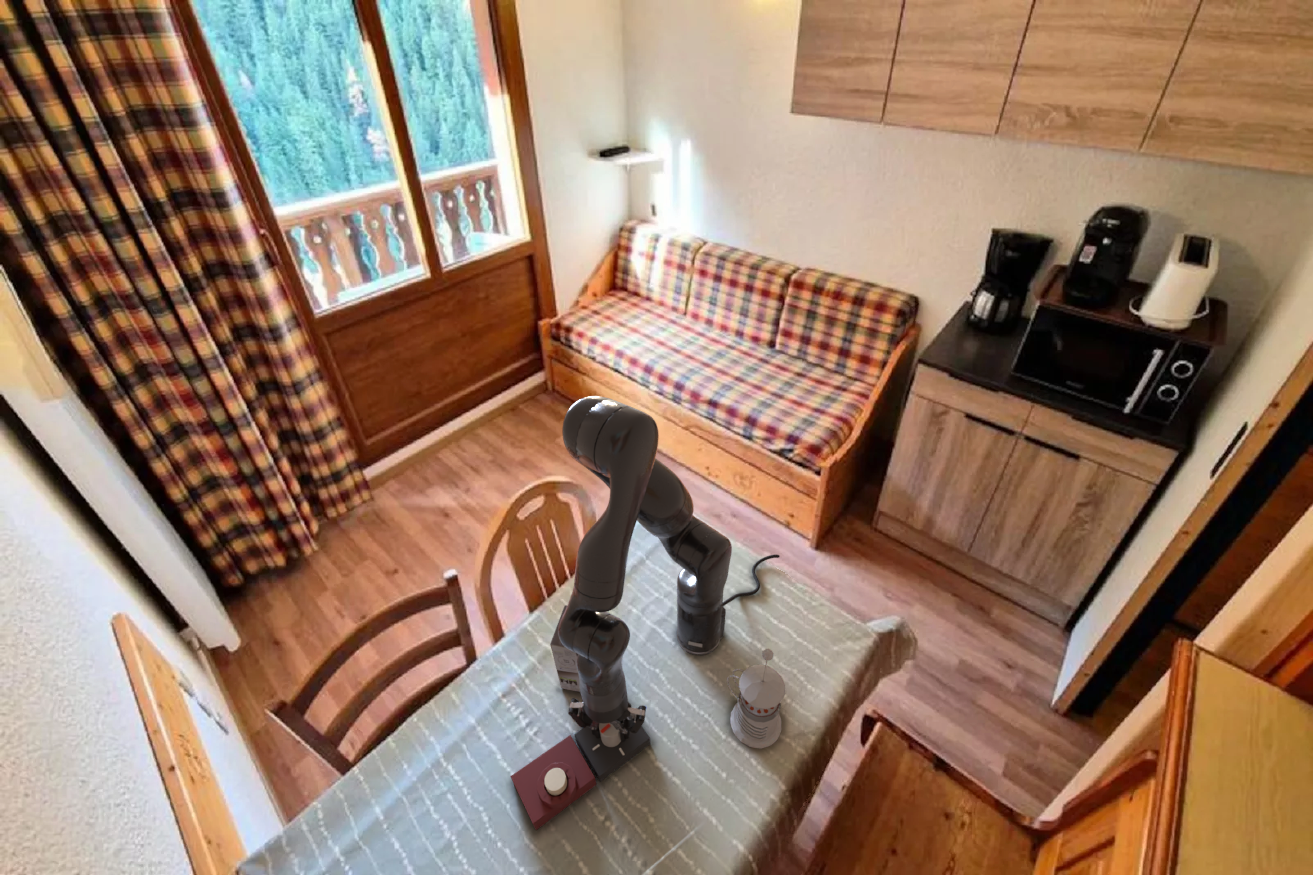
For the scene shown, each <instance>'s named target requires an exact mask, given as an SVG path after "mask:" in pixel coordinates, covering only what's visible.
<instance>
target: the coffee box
mask: <svg viewBox="0 0 1313 875" xmlns="http://www.w3.org/2000/svg"><path fill="white" fill-rule="evenodd" d="M567 605H568V604H567ZM567 605H566V604H565V605H563V609H562V611H561V614H560V616H559V619H558V622H557V624H556V628H555V630H554V633H553V635H552V638H551V641H550V644H549V645H550V649H551V653H552V657H553V661H554V665H555V669H556V674H557V677H558V681H559V685H560V688H561V689H565V690H568V691H574V692H579V693H580V686H579V681H580V680H579V675H578V671H577V656H578V654H577V653H575V652H573V651H571V650H569V649H567V648H566V647H565V646H564V645H563V644H562V643H561V641H560V638H559V634H558V627H559V623H560V621H561V618H562V616H563V614H564V612H565V610H566V608H567Z"/></svg>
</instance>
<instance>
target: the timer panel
mask: <svg viewBox="0 0 1313 875" xmlns="http://www.w3.org/2000/svg"><path fill="white" fill-rule="evenodd" d="M628 718H629V720H632V716H631V715H630V716H629V717H628ZM573 735H574V738H575V741H576V742H577V745H578V746H579V748H580V751H581V752H582V753H583V756H584V757H585V759H586V760H587V762H588V763H589V764H588V765H590V767H591V769H592V770H593V773H594V774H595V776H596V777H597V779H598V781H599V782H602V781H604V780H605V779H606V778H608V777H609V776H610V775H611V774H613V773H614V772H615V771H617V770H618V769H619V768H621V767H622V766H623V765H625V764H626V763H628V762H629V761H630V760H631V759H633V758H634V757H635V756H636V755H638V754H639V753H640V752H642V751H644V750H645V749H646V748H648V747H649V746H650V745H651V738H650V736H649V735H648V733H647V732H646V730H645V729H644V727H643V725H642V726H641V727H640V729H639V730H638V732H637V733H631V732H630V733H629V738H628V739H625V741H621V742H620V743H619V744H618V745H617V746H615V747H608V746H606V745H604V744H603V742H602V740H601V736H600V739H598V738H596V736H595V735H593V734H592V730H590V727H589V726H586V728H582V727H581V728H580V729H579V730H578V731H576V732H575V733H574V734H573Z"/></svg>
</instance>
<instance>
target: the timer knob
mask: <svg viewBox="0 0 1313 875" xmlns="http://www.w3.org/2000/svg"><path fill="white" fill-rule="evenodd" d="M599 730H600V735H601V740H602V742H603V744H604V745H606V746H608V747H615V746H617V745H618V744H619V743H620V742H621V737H620V731H619V730H616V729H615V727H614V726H613V725H612V724H610V723H605V724H603V723H600V724H599Z"/></svg>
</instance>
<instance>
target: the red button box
mask: <svg viewBox="0 0 1313 875" xmlns="http://www.w3.org/2000/svg"><path fill="white" fill-rule="evenodd" d="M577 745H578V744H576V742H575V740H574V739H573V737H572V735H571V734H569V735H568V736H566V737H565V738H563V739H562V740H560V741H559V742H558V743H556V744H555V745H553V746H552V747H550V748H549V749H547V750H546V751H544V752H543V753H542V754H541V755H538V757H536V758H535V759H533V760H532V761H530V762H529V763H528V764H526V765H524V766H523V767H521V768H520V769H518V770H517V771H516V772H515V773H513V774H512V775H510V779H511V781H512V783H513V785H514V787H515V789H516V792H517V793H518V796H519V798H520V800H521V802H522V805H523V806H524V808H525V811H526V813H527V815H528V817H529V819H530V821H531V823H532V826H533V828H534V829H535V831H537V830H538V829H540V828H541V827H543V826H544V825H546V823H548V822H549V821H551V820H552V819H554V817H556V816H557V815H559V814H560V813H561V812H562V811H564V810H565V809H566V808H568V807H569V806H570V805H572V804H573V803H574V802H576V801H577V800H578V799H580V798H581V797H582V796H584V795H585V794H586V793H587V792H589V791H590V790H592V789H593V788H594V787H596V786H597V785H598V784H597V780H596V777H595V775H594V772H592V770H591V768H590V767H589V764H588V763H587V761H586V758H584V755H583V754H582V753H581V752H582V751H581V750H580V749H579V747H578V746H577ZM553 768H560V769H562V770H563V771H564V772H565V775H566V778H567V787H566V789H565V790H564V792H563V793H561V794H560V795H551V794H550V793H549V792H548V791H547V789H546V786H545V776H546V774H547V773H548V772H549V771H550V770H551V769H553Z"/></svg>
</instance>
